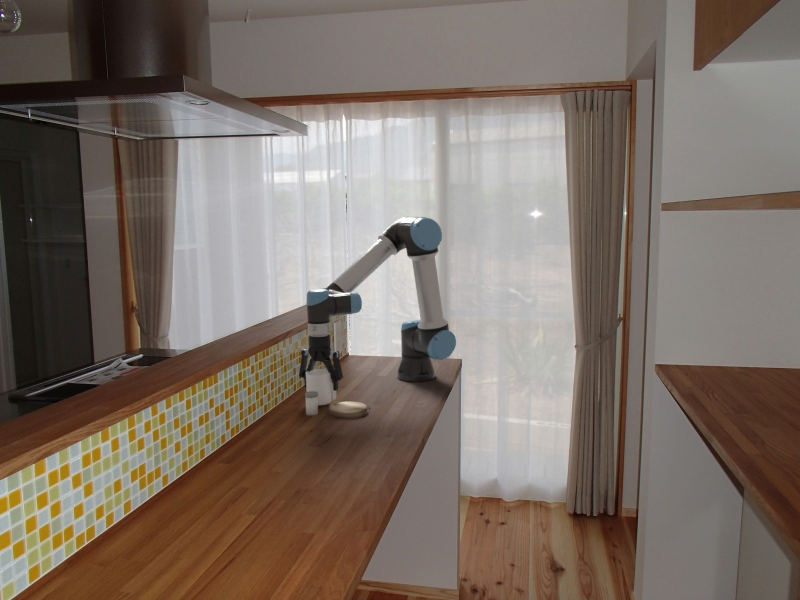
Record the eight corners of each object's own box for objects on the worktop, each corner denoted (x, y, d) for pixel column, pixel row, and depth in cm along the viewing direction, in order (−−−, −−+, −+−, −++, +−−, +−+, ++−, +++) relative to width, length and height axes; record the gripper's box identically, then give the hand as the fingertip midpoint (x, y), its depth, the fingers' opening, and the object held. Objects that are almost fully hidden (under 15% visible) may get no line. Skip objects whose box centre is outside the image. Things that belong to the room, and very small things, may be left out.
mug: (339, 396, 233) (338, 367, 231) (325, 406, 222) (324, 376, 220) (317, 394, 235) (316, 365, 234) (302, 405, 224) (301, 374, 222)
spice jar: (309, 410, 221) (308, 390, 220) (320, 412, 220) (320, 392, 219) (303, 414, 217) (302, 394, 216) (314, 415, 216) (314, 395, 215)
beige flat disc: (339, 405, 227) (339, 399, 227) (373, 408, 223) (373, 403, 223) (321, 416, 215) (321, 410, 215) (358, 420, 211) (357, 414, 211)
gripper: (286, 335, 225) (289, 398, 229) (342, 338, 218) (344, 404, 221) (297, 330, 232) (300, 392, 236) (352, 334, 225) (354, 397, 228)
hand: (321, 398), depth 228 cm, fingers closed on mug, 9 cm apart
